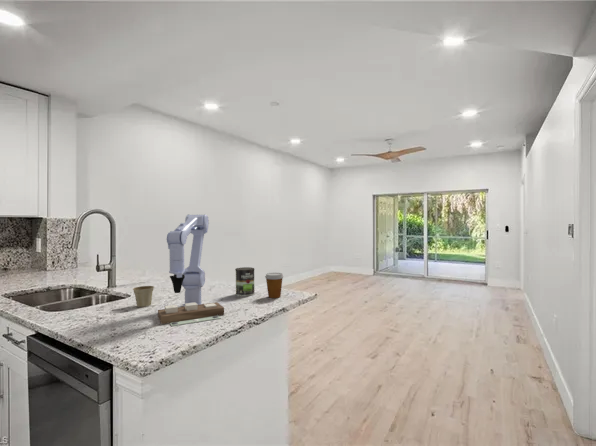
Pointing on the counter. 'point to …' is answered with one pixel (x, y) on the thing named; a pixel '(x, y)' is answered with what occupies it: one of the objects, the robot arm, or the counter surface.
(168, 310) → the cream square block
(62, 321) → the counter surface
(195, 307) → the button middle
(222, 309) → the brown flat rectangular frame
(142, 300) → the flower pot
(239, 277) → the coffee can
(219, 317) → the pattern card
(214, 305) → the white square block
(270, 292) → the disposable coffee cup
